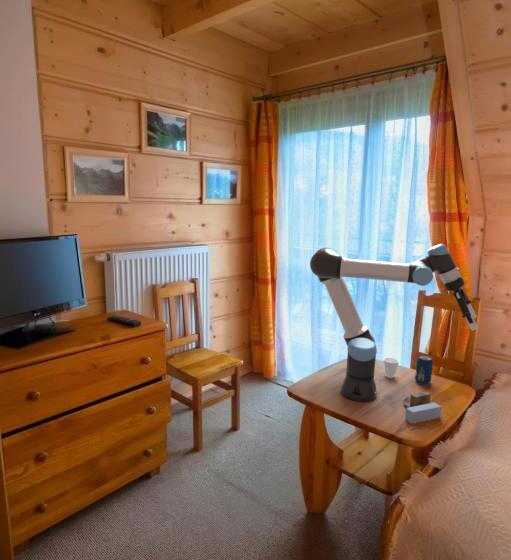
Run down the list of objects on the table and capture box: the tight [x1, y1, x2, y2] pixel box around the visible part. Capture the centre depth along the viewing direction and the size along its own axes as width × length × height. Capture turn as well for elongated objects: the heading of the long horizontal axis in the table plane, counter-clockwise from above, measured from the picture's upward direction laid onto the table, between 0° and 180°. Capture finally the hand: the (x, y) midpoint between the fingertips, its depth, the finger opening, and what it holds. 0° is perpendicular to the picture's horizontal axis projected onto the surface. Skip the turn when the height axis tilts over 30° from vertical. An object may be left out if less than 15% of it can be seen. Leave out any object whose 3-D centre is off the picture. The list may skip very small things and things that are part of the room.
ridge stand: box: [403, 391, 432, 408], centre depth 173 cm, size 10×7×6 cm
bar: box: [404, 402, 442, 424], centre depth 165 cm, size 4×14×5 cm, turn 112°
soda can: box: [414, 355, 434, 386], centre depth 198 cm, size 7×7×12 cm
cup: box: [381, 357, 400, 379], centre depth 205 cm, size 7×10×8 cm
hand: (474, 323), depth 180 cm, fingers open, 13 cm apart
